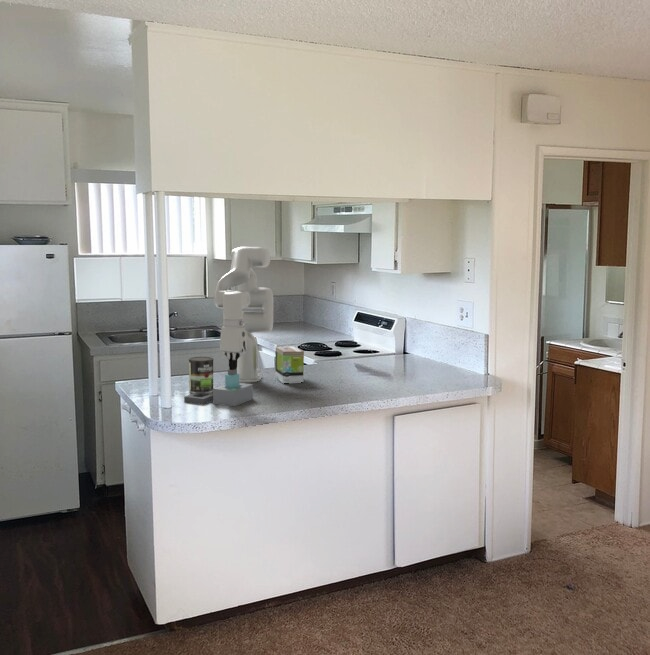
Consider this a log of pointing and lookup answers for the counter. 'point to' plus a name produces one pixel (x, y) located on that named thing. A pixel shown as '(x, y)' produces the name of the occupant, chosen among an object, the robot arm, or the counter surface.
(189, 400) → the holster
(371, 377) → the counter surface
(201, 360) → the coffee can
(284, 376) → the tea box
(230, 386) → the plug
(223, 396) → the port
